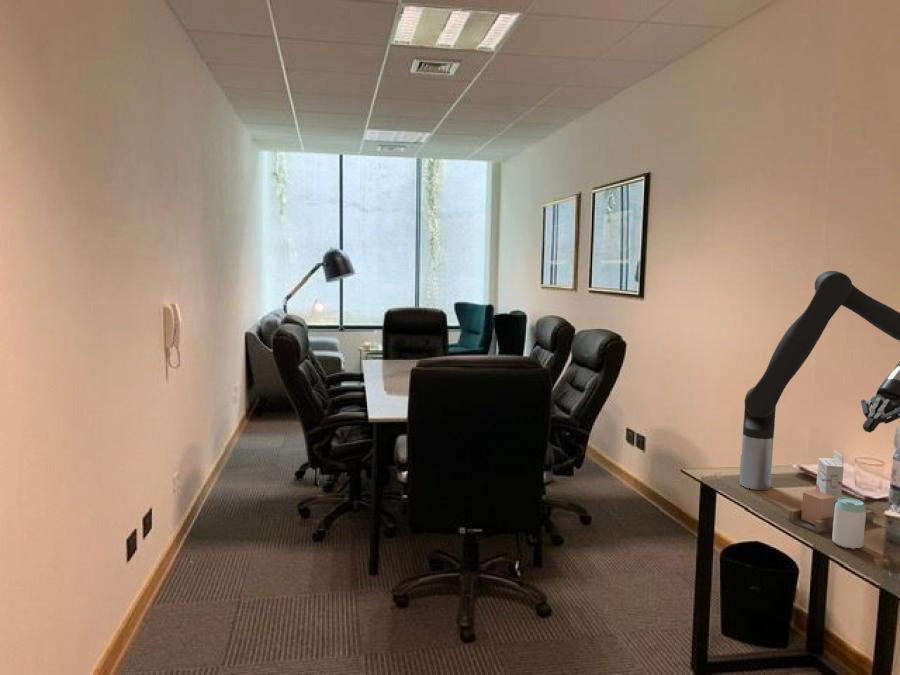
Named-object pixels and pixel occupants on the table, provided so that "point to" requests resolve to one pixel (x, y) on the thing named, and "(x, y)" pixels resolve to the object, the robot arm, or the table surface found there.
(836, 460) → the ink cartridge box
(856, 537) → the can
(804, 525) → the chute
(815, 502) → the block
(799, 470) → the table surface
